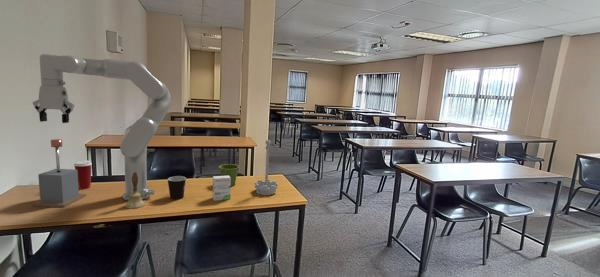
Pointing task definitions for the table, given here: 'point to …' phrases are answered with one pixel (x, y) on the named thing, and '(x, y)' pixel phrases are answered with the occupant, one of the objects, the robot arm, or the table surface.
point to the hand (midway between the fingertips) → (54, 122)
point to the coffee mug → (176, 187)
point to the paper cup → (83, 174)
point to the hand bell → (135, 195)
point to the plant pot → (229, 171)
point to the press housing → (58, 188)
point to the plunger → (57, 151)
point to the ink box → (221, 187)
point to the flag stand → (266, 178)
